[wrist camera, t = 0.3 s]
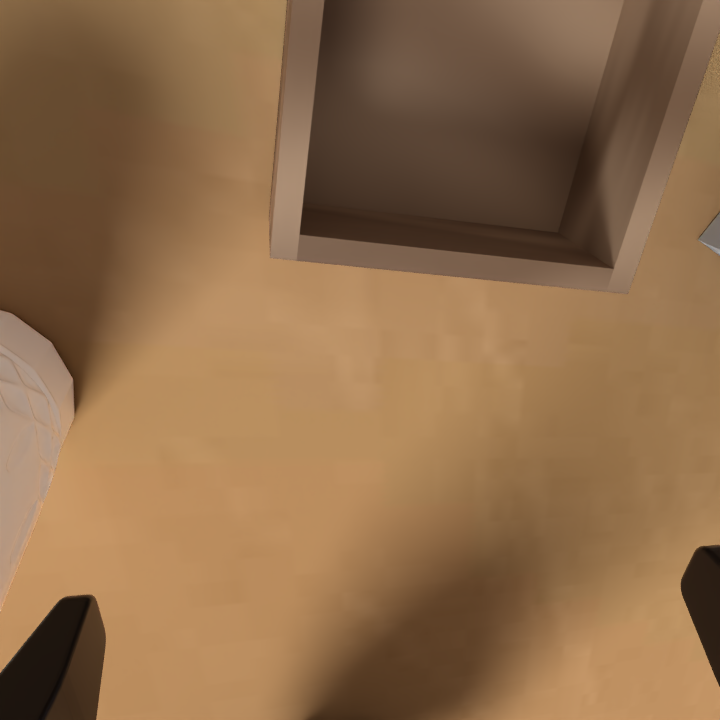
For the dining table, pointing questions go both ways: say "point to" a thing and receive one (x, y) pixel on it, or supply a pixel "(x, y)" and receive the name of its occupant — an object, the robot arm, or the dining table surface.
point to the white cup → (27, 434)
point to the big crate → (483, 134)
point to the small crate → (712, 235)
